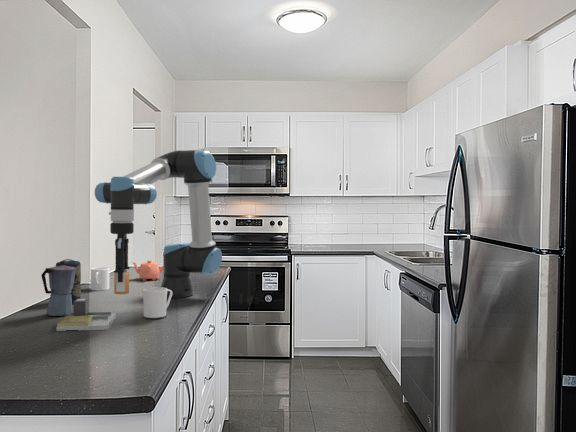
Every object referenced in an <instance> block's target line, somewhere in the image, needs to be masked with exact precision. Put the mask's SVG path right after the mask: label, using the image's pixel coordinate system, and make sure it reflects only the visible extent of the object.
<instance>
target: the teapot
mask: <svg viewBox="0 0 576 432" xmlns="http://www.w3.org/2000/svg"><path fill="white" fill-rule="evenodd" d="M130 263H131V264H133V265H134V270H135V272H136V273H137V274H138V276H139V279H140V280H141V279H142V282H145V281H147V279H151V281H157V279H159V278H160V273H163V266H161V267H160V268H159V264H158V262H157V261H154V262H153V260H147V261H145V262H141V263H140V267H138V264H137V262H133V261H131V262H130Z"/></svg>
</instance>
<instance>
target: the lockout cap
mask: <svg viewBox="0 0 576 432" xmlns="http://www.w3.org/2000/svg"><path fill="white" fill-rule="evenodd" d="M124 272H125V292H116V273H114V272H113V273H114V275H113V276H114V279H113V280H114V281H113V282H114V283H113V285H114V289H113V291H114V294H115V295H128V294H130V272H129V271H127V272H126V271H124Z"/></svg>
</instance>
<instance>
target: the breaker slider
mask: <svg viewBox="0 0 576 432" xmlns="http://www.w3.org/2000/svg"><path fill="white" fill-rule="evenodd" d="M72 310H73V316H77V315H88V312H89V299H88V298H81V299H76V300H75V301H74V302H73V303H72Z"/></svg>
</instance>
